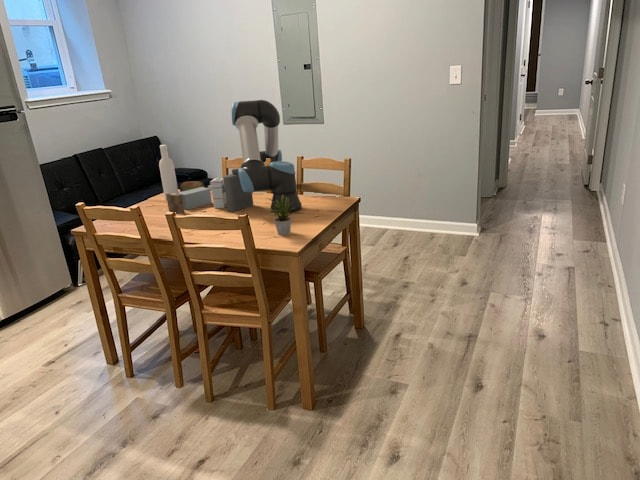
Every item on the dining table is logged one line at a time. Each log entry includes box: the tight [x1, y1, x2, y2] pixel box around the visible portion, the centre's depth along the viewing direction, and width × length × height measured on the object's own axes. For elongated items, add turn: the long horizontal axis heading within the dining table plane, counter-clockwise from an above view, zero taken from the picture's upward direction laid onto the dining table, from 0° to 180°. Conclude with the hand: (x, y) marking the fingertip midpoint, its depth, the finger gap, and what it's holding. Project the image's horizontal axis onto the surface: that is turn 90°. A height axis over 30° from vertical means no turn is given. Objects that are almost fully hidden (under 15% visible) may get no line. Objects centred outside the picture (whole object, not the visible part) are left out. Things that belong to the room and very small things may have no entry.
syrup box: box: [209, 177, 227, 209], centre depth 257 cm, size 6×6×14 cm
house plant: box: [265, 195, 296, 236], centre depth 210 cm, size 14×14×16 cm
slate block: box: [177, 186, 213, 210], centre depth 265 cm, size 8×15×8 cm, turn 133°
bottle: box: [158, 144, 179, 201], centre depth 280 cm, size 8×8×30 cm
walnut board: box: [166, 193, 185, 214], centre depth 256 cm, size 10×2×9 cm, turn 53°
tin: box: [179, 180, 206, 192], centre depth 286 cm, size 15×3×8 cm, turn 76°
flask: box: [222, 168, 254, 213], centre depth 251 cm, size 15×6×20 cm, turn 135°
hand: (209, 188), depth 272 cm, fingers closed
